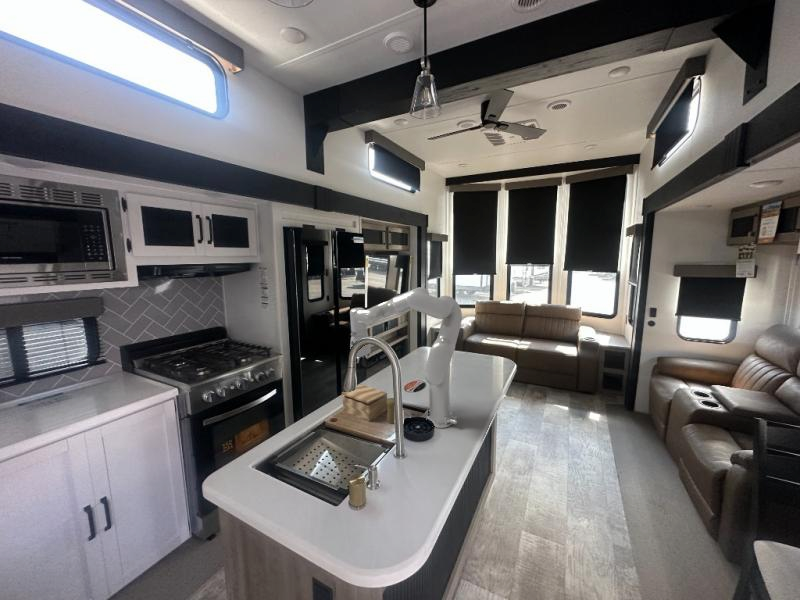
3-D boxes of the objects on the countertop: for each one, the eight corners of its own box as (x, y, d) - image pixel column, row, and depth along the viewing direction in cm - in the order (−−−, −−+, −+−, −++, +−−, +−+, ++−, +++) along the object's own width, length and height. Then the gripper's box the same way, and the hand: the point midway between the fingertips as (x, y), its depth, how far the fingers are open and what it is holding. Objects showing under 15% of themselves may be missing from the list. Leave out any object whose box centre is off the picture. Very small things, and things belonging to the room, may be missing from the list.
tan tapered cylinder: (391, 425, 145) (390, 403, 143) (384, 420, 150) (383, 398, 148) (401, 421, 148) (400, 399, 146) (394, 415, 153) (393, 395, 151)
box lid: (387, 394, 158) (387, 392, 158) (368, 403, 147) (368, 401, 147) (361, 386, 169) (361, 384, 169) (341, 394, 158) (341, 392, 158)
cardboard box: (387, 409, 160) (386, 394, 158) (369, 421, 149) (368, 406, 147) (362, 400, 171) (361, 386, 169) (343, 411, 160) (342, 396, 158)
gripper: (352, 338, 143) (354, 375, 146) (376, 330, 157) (378, 364, 160) (341, 336, 148) (343, 372, 151) (365, 328, 161) (367, 361, 164)
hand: (361, 367), depth 155 cm, fingers open, 4 cm apart
